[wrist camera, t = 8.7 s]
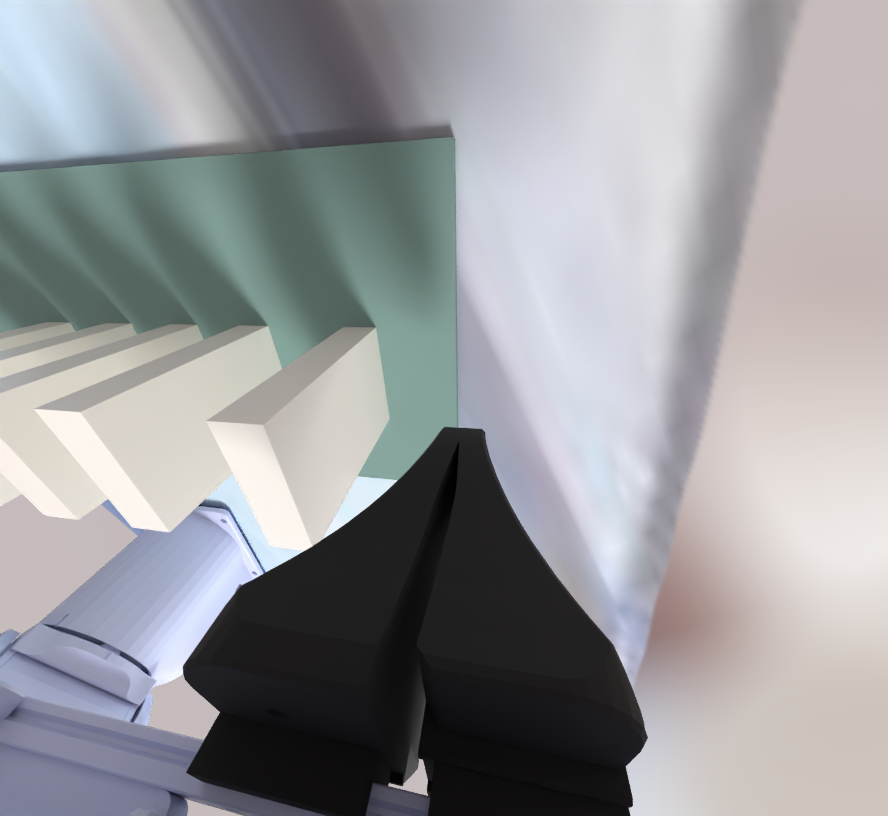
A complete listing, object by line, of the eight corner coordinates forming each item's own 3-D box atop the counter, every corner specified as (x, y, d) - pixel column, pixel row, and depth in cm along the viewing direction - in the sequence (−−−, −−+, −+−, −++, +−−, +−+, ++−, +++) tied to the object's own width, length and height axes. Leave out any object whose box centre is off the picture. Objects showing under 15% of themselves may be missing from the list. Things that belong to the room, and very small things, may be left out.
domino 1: (176, 405, 19) (-5, 508, 12) (154, 403, 19) (-35, 504, 12) (130, 323, 16) (-129, 397, 10) (106, 323, 17) (-165, 394, 10)
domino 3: (296, 412, 18) (169, 532, 11) (271, 411, 18) (132, 527, 11) (268, 325, 15) (79, 412, 8) (238, 325, 15) (33, 409, 9)
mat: (458, 480, 19) (457, 485, 19) (85, 446, 23) (79, 450, 23) (455, 139, 11) (453, 136, 10) (-122, 183, 15) (-136, 183, 15)
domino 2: (234, 409, 18) (78, 519, 12) (210, 407, 19) (44, 515, 12) (196, 324, 16) (-32, 404, 9) (170, 324, 16) (-73, 401, 9)
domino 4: (389, 418, 17) (314, 551, 10) (361, 417, 17) (270, 546, 10) (376, 327, 14) (262, 424, 8) (343, 326, 15) (206, 420, 8)
